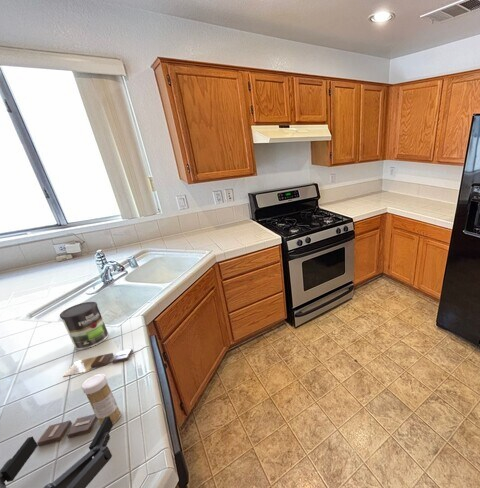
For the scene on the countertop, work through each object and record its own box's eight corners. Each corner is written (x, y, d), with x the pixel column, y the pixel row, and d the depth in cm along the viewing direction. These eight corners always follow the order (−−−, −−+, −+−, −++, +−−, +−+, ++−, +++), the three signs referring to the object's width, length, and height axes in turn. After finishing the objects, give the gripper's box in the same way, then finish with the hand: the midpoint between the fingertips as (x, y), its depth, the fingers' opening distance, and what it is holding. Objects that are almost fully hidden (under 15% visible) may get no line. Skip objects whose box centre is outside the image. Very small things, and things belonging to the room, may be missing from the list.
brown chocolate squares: (38, 446, 63) (36, 442, 63) (51, 428, 67) (49, 425, 67) (89, 432, 66) (87, 428, 65) (99, 416, 70) (97, 412, 69)
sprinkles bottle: (102, 416, 70) (84, 377, 65) (123, 408, 71) (106, 370, 67) (98, 431, 66) (78, 391, 61) (120, 422, 68) (102, 383, 63)
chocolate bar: (63, 377, 84) (61, 373, 83) (76, 361, 90) (74, 358, 90) (126, 362, 88) (125, 359, 87) (134, 348, 94) (133, 345, 94)
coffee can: (115, 334, 103) (103, 303, 99) (85, 352, 94) (70, 319, 89) (98, 329, 107) (85, 299, 102) (67, 347, 97) (52, 314, 93)
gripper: (-128, 635, 34) (7, 463, 54) (94, 553, 40) (143, 425, 60) (-167, 607, 32) (-11, 437, 51) (75, 524, 38) (133, 400, 57)
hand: (72, 430), depth 56 cm, fingers open, 13 cm apart
